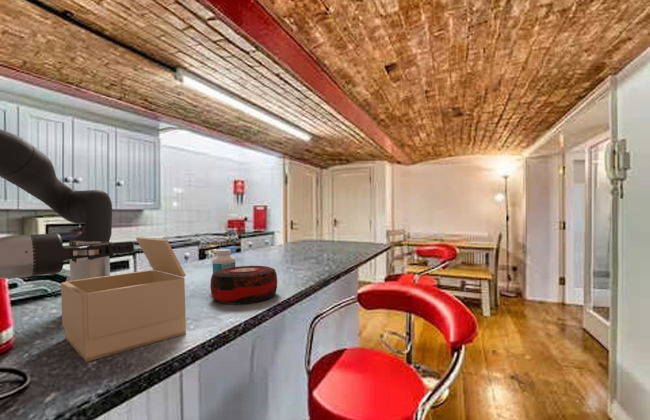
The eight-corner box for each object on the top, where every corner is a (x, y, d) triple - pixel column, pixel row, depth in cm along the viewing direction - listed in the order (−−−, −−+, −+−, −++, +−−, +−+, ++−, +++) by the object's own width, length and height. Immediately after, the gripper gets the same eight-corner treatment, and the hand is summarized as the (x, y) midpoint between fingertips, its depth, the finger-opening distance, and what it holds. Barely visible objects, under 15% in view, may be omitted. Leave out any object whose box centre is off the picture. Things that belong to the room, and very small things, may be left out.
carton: (83, 363, 60) (81, 295, 60) (61, 338, 73) (60, 282, 73) (187, 334, 74) (185, 278, 74) (153, 317, 87) (151, 269, 87)
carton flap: (164, 240, 72) (167, 239, 72) (135, 238, 83) (138, 236, 84) (183, 277, 74) (186, 275, 75) (153, 269, 86) (155, 268, 87)
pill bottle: (223, 293, 111) (222, 251, 111) (208, 291, 115) (207, 250, 115) (240, 288, 117) (239, 249, 117) (225, 286, 121) (224, 248, 121)
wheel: (268, 306, 95) (284, 289, 115) (267, 275, 95) (283, 264, 115) (198, 306, 97) (226, 290, 116) (197, 276, 97) (225, 265, 117)
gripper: (32, 235, 58) (142, 229, 71) (23, 234, 67) (122, 228, 80) (33, 280, 58) (144, 266, 71) (24, 272, 67) (123, 261, 80)
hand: (132, 246), depth 75 cm, fingers closed
